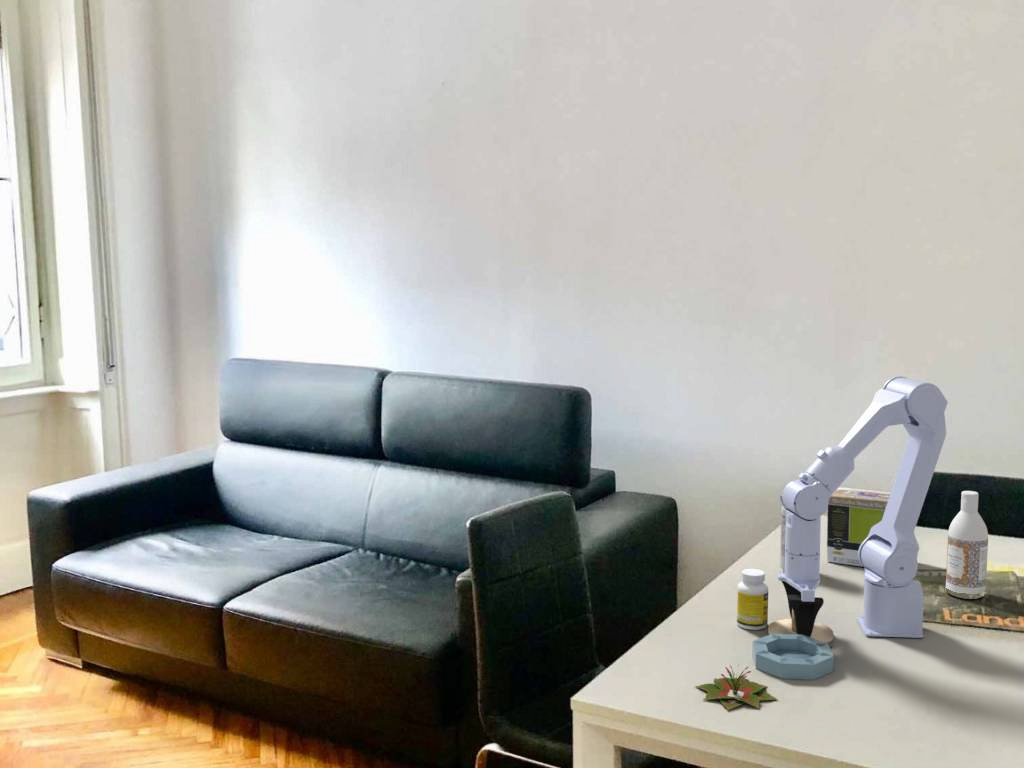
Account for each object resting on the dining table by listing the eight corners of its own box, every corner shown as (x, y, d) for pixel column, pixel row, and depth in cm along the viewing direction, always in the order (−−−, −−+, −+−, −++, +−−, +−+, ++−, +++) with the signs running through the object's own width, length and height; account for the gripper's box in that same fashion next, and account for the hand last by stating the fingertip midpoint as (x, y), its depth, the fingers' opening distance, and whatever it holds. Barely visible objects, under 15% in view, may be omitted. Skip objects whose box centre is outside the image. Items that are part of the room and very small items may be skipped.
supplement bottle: (768, 631, 176) (769, 577, 175) (736, 630, 177) (737, 576, 176) (767, 620, 182) (768, 567, 180) (736, 618, 183) (736, 566, 181)
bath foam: (937, 591, 194) (941, 490, 192) (964, 586, 197) (968, 486, 194) (966, 603, 188) (971, 498, 185) (993, 597, 191) (998, 494, 188)
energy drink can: (816, 572, 207) (818, 501, 204) (797, 578, 203) (798, 506, 201) (793, 565, 211) (795, 495, 209) (773, 570, 208) (775, 500, 206)
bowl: (823, 649, 168) (824, 635, 168) (837, 680, 156) (837, 665, 156) (750, 647, 170) (750, 632, 169) (758, 677, 158) (758, 662, 158)
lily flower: (680, 688, 156) (680, 660, 155) (745, 674, 160) (746, 647, 160) (724, 721, 145) (724, 691, 144) (793, 706, 149) (793, 676, 149)
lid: (827, 623, 179) (828, 600, 178) (838, 647, 168) (839, 623, 167) (764, 621, 180) (765, 598, 179) (772, 645, 169) (772, 621, 169)
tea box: (910, 560, 213) (912, 492, 211) (899, 574, 205) (902, 503, 203) (837, 549, 221) (839, 484, 219) (825, 562, 213) (826, 494, 211)
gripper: (773, 538, 179) (771, 611, 181) (784, 564, 165) (782, 643, 167) (813, 538, 179) (812, 612, 180) (828, 565, 164) (826, 644, 166)
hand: (800, 627), depth 174 cm, fingers open, 7 cm apart
